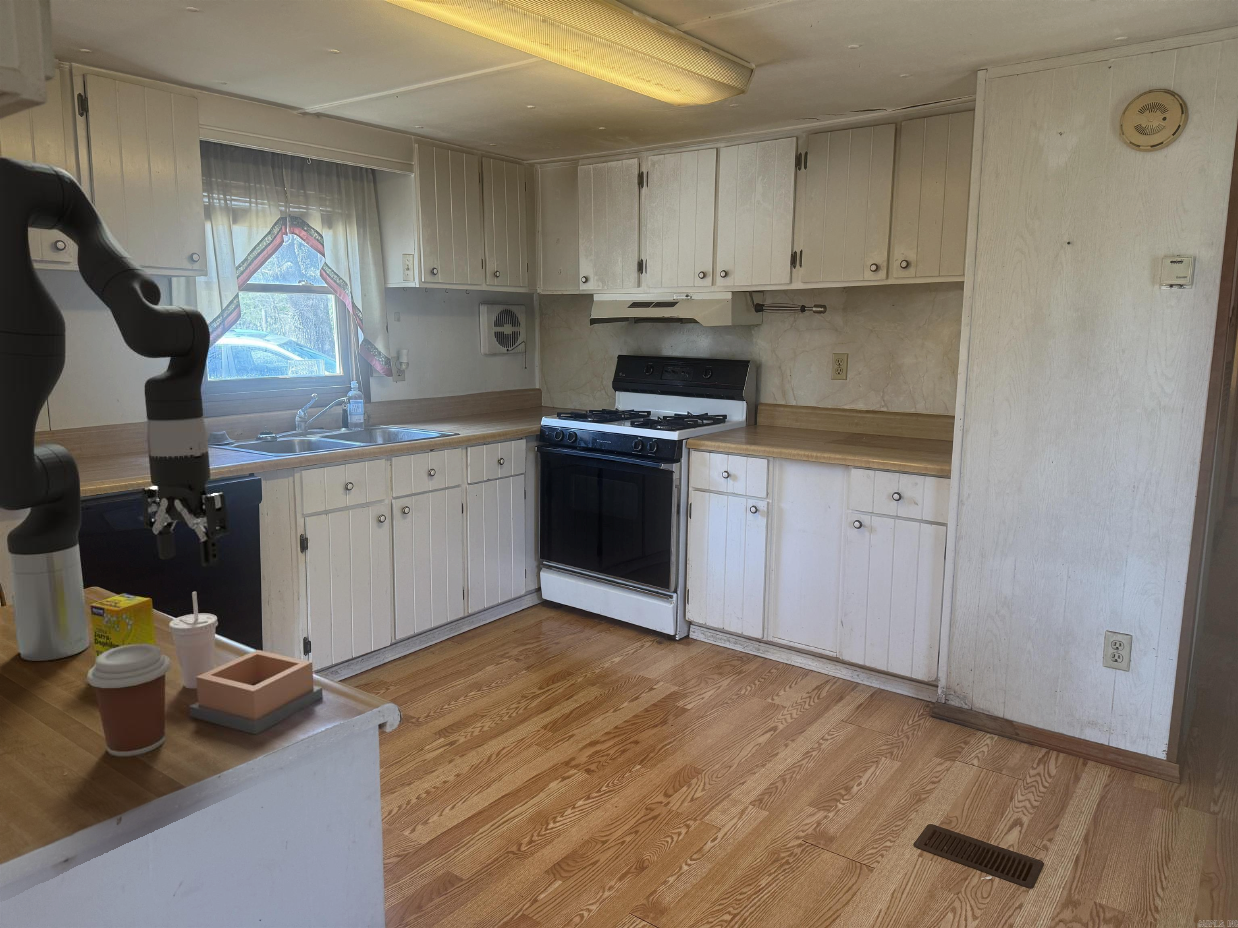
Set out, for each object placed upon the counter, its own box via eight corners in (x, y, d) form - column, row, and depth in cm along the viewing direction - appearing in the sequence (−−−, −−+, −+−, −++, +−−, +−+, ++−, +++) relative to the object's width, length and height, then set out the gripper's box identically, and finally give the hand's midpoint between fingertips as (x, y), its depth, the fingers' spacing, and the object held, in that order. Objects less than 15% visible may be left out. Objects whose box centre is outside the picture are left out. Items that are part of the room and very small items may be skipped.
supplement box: (95, 673, 128) (88, 604, 127) (131, 658, 134) (124, 592, 132) (123, 679, 126) (116, 609, 124) (158, 664, 132) (152, 597, 130)
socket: (190, 716, 115) (186, 677, 114) (260, 682, 126) (257, 646, 125) (255, 734, 110) (252, 694, 109) (322, 697, 121) (320, 660, 120)
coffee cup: (150, 720, 114) (142, 635, 112) (192, 737, 109) (185, 649, 107) (79, 749, 106) (69, 658, 104) (121, 769, 101) (111, 674, 99)
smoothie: (203, 694, 122) (195, 600, 119) (163, 690, 123) (155, 597, 120) (231, 675, 128) (224, 586, 125) (194, 672, 129) (186, 583, 127)
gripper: (119, 450, 119) (130, 562, 122) (191, 457, 113) (202, 574, 116) (166, 443, 126) (176, 549, 128) (237, 449, 120) (246, 560, 123)
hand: (188, 561), depth 122 cm, fingers open, 8 cm apart
